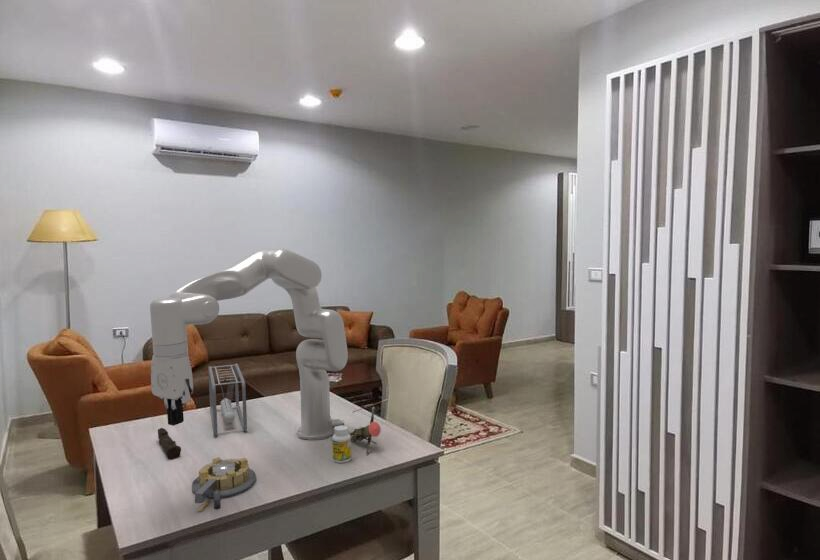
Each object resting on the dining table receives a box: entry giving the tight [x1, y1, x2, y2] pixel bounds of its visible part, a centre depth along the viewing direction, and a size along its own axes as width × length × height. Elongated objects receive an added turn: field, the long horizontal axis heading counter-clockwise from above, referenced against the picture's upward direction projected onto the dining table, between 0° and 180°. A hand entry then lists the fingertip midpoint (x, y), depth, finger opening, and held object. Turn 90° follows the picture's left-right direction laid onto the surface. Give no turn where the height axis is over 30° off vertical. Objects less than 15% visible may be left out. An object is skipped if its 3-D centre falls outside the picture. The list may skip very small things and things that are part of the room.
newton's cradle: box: [208, 363, 248, 437], centre depth 184 cm, size 30×10×18 cm, turn 23°
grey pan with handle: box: [194, 456, 250, 505], centre depth 134 cm, size 20×12×4 cm, turn 174°
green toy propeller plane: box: [348, 398, 389, 456], centre depth 161 cm, size 16×10×20 cm
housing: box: [191, 461, 257, 513], centre depth 135 cm, size 16×21×5 cm
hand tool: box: [157, 427, 182, 460], centre depth 161 cm, size 19×4×5 cm, turn 35°
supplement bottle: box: [331, 425, 352, 464], centre depth 152 cm, size 5×5×10 cm
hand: (176, 423), depth 126 cm, fingers closed
